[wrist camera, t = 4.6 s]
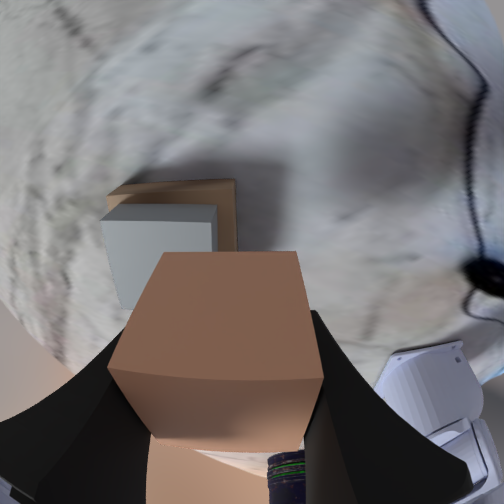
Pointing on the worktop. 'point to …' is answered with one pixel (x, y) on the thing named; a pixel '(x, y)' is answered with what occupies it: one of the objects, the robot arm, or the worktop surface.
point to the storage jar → (287, 478)
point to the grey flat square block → (153, 240)
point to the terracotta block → (222, 352)
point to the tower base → (188, 201)
